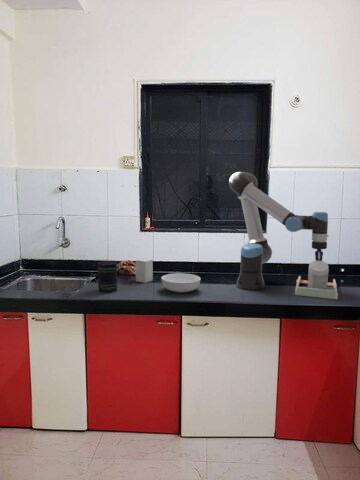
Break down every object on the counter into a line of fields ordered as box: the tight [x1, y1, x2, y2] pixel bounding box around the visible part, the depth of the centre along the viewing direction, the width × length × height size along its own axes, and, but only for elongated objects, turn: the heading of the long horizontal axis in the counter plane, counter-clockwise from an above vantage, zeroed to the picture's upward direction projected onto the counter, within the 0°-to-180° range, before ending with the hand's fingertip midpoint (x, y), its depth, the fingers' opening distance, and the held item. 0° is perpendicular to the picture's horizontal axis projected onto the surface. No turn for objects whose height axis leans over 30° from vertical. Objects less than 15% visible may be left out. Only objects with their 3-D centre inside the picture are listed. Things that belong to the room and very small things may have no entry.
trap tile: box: [295, 279, 338, 287], centre depth 205 cm, size 22×7×1 cm, turn 68°
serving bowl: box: [160, 272, 201, 293], centre depth 187 cm, size 21×21×7 cm
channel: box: [294, 275, 339, 300], centre depth 193 cm, size 20×34×4 cm, turn 158°
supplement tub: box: [307, 260, 330, 289], centre depth 183 cm, size 10×10×15 cm
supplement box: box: [135, 258, 154, 284], centre depth 206 cm, size 7×7×13 cm
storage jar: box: [97, 260, 118, 294], centre depth 185 cm, size 10×10×15 cm
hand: (317, 284), depth 191 cm, fingers closed
